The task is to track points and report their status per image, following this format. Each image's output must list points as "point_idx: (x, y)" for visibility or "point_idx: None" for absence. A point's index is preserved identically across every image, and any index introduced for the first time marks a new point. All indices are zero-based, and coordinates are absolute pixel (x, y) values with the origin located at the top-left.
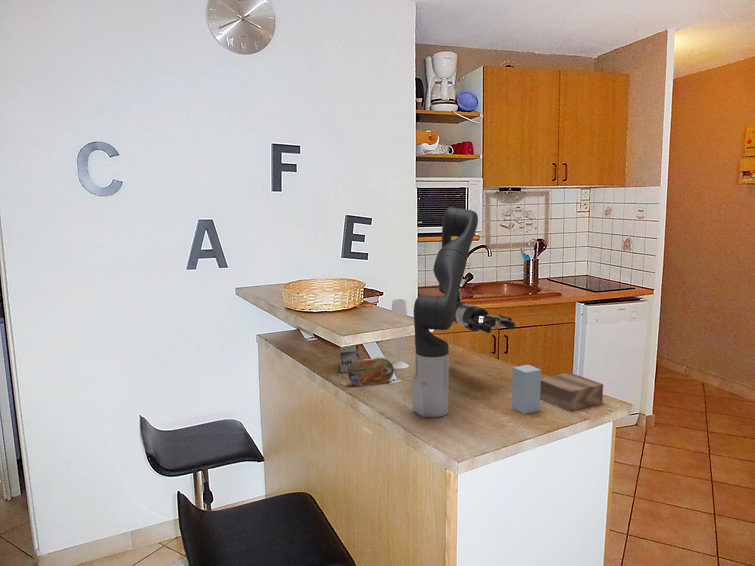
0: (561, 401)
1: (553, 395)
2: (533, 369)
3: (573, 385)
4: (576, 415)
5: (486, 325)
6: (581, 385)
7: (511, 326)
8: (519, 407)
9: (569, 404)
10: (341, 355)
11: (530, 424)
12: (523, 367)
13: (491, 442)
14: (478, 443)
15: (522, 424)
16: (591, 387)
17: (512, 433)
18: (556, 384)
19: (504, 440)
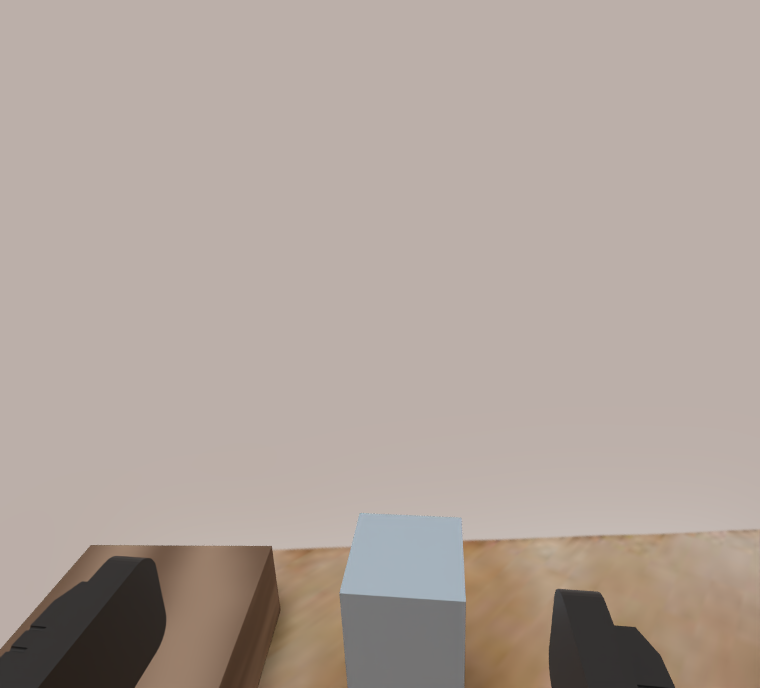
0: (264, 630)
1: (247, 667)
2: (387, 529)
3: (179, 586)
4: (299, 578)
5: (623, 655)
6: (159, 571)
7: (144, 624)
8: None
9: (275, 593)
10: None
11: (500, 597)
12: (409, 569)
13: (701, 562)
14: (753, 574)
15: (529, 609)
16: (157, 546)
17: (602, 576)
18: (216, 631)
19: (650, 555)
